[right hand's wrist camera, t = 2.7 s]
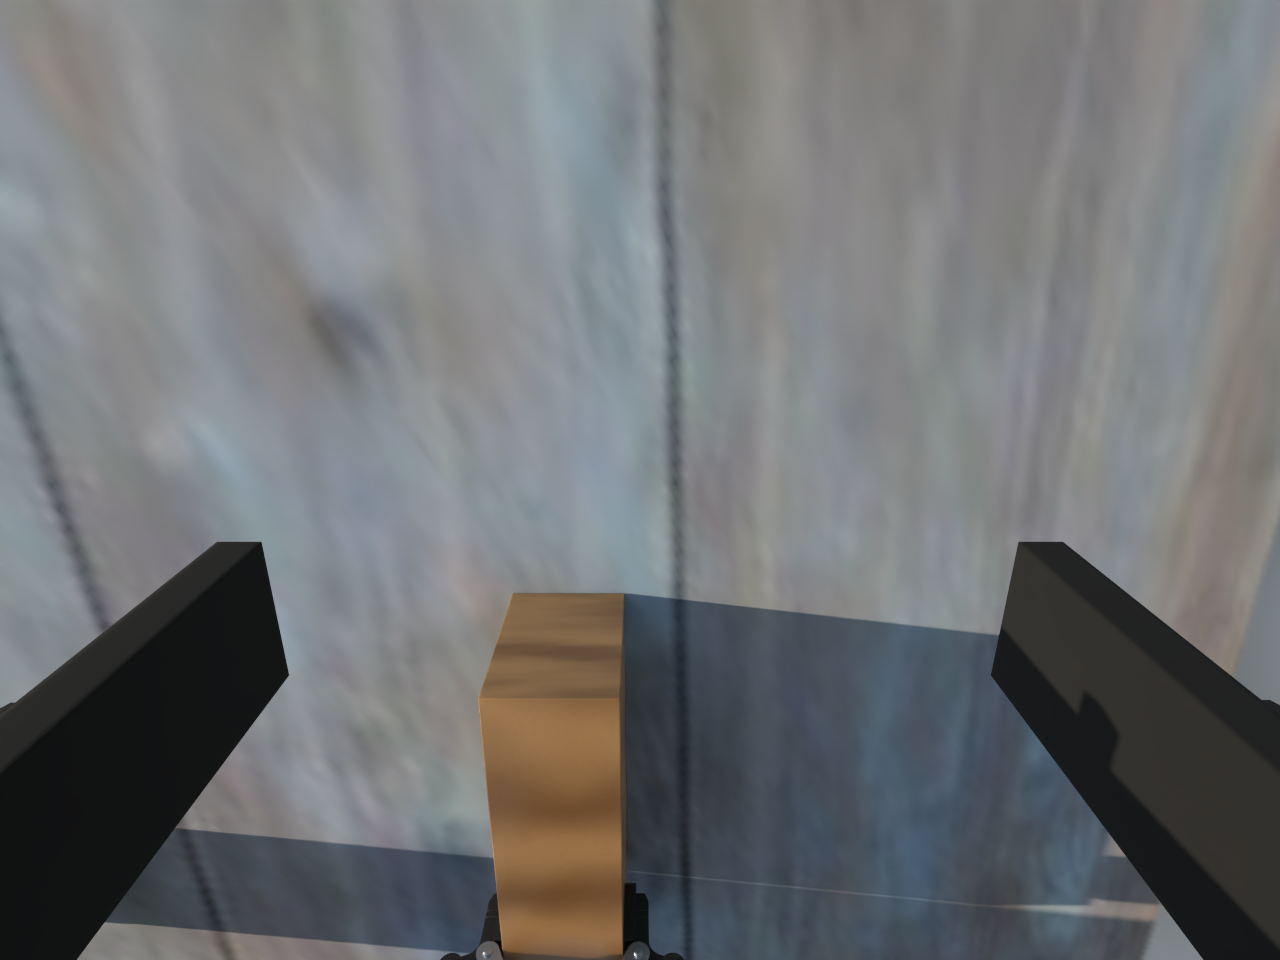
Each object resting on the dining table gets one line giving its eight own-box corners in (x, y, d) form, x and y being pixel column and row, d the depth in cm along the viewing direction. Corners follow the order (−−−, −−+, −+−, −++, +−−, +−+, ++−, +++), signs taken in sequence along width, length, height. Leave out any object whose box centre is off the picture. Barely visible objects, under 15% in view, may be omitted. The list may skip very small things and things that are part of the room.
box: (512, 593, 40) (477, 698, 32) (624, 593, 40) (620, 698, 32) (531, 861, 48) (507, 1007, 39) (626, 862, 48) (623, 1007, 39)
